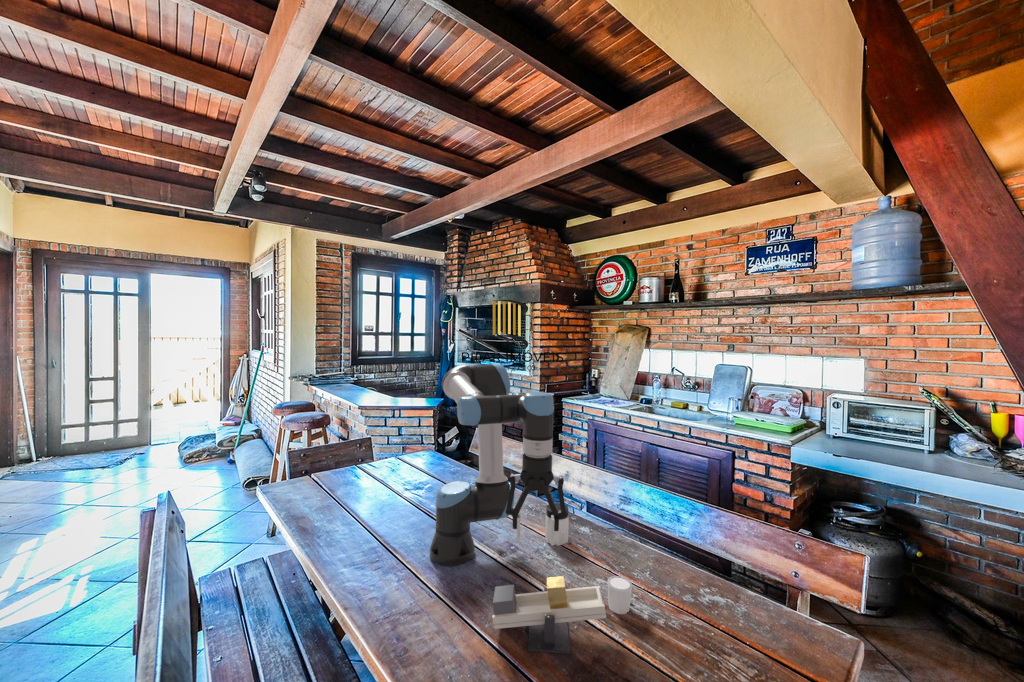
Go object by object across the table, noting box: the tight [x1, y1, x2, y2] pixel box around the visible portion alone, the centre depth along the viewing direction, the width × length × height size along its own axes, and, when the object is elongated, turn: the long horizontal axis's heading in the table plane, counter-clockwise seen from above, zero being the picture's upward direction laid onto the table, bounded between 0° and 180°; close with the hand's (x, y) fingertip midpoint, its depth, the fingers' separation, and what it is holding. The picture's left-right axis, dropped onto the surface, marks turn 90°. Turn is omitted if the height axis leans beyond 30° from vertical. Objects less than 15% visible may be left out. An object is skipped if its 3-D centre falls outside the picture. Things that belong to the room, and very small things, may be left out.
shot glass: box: [606, 575, 633, 615], centre depth 116 cm, size 7×7×7 cm
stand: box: [528, 587, 571, 655], centre depth 106 cm, size 10×14×8 cm
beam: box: [491, 584, 607, 630], centre depth 106 cm, size 28×9×6 cm, turn 86°
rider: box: [546, 575, 568, 609], centre depth 106 cm, size 4×4×6 cm
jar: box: [544, 502, 570, 547], centre depth 152 cm, size 9×8×12 cm
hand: (535, 541), depth 106 cm, fingers open, 8 cm apart
